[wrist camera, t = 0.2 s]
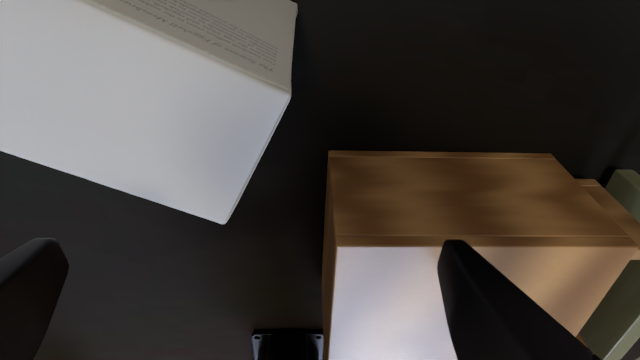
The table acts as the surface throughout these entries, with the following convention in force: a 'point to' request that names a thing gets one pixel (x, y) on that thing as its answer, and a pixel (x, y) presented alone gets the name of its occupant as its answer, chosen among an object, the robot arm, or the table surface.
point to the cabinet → (454, 223)
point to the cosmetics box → (147, 92)
